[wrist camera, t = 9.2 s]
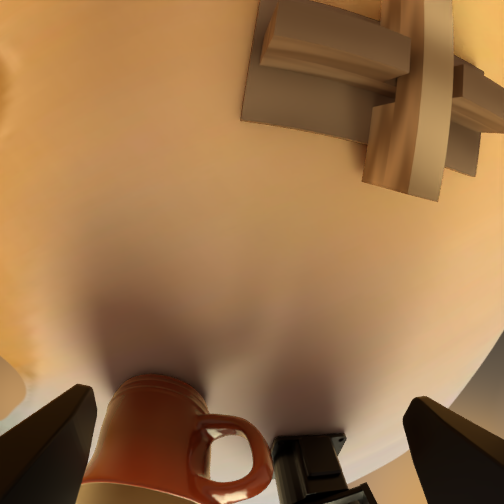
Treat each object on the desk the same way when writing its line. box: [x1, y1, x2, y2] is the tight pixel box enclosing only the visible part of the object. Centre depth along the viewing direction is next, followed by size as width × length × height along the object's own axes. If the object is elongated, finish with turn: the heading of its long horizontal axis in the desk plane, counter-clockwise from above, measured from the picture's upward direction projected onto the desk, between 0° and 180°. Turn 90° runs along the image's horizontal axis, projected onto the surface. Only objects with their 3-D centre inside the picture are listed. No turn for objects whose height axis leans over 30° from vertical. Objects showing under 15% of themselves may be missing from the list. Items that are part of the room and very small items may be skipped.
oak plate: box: [362, 0, 454, 202], centre depth 13 cm, size 12×2×5 cm, turn 172°
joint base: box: [241, 0, 504, 177], centre depth 14 cm, size 8×16×6 cm, turn 82°
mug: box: [76, 374, 274, 504], centre depth 17 cm, size 12×9×10 cm
